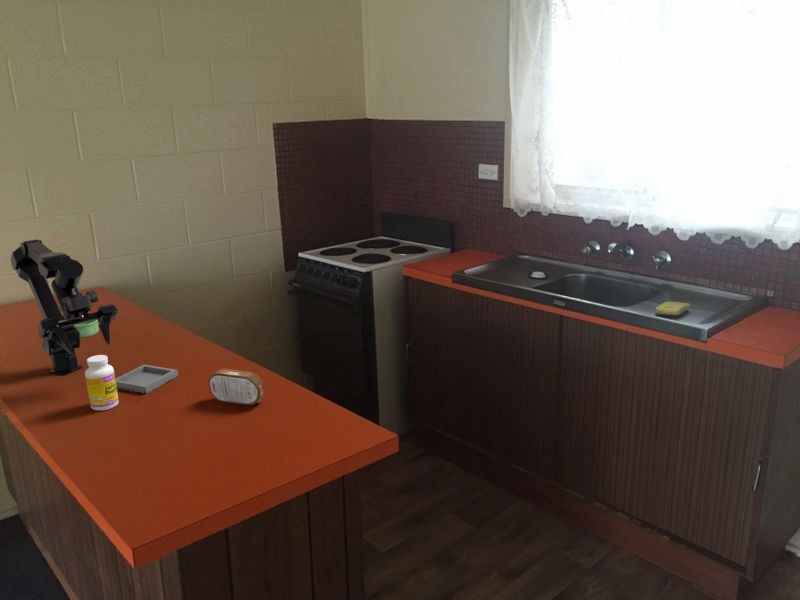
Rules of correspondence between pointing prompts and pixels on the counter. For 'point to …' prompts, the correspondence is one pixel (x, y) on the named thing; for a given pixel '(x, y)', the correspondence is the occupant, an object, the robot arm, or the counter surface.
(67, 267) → the robot arm
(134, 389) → the tray
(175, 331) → the counter surface
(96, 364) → the supplement bottle
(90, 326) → the ramekin
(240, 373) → the tin
